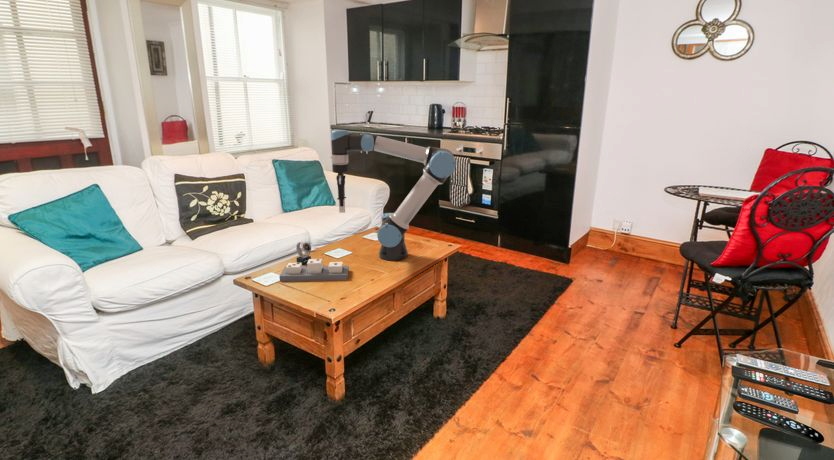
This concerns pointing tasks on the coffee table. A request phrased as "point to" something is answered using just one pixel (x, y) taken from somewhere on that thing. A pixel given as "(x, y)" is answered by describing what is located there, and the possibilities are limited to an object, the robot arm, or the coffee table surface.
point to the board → (314, 275)
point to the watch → (302, 258)
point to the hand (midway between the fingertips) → (342, 212)
